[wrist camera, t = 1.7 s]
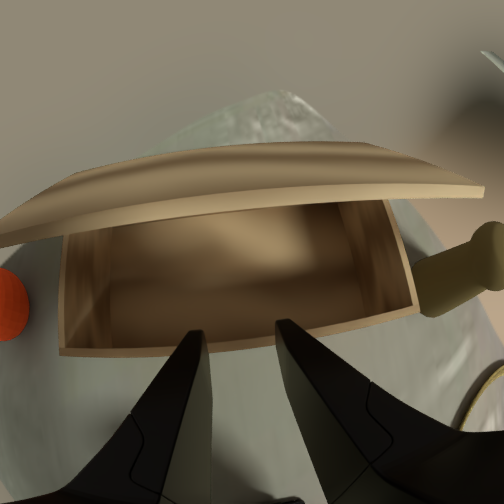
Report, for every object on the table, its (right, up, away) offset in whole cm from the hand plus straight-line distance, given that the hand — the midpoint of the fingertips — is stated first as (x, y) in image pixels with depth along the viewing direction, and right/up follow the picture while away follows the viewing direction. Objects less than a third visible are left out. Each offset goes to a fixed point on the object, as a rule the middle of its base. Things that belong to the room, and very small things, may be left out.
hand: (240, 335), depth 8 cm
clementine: (-24, -4, +12) cm, 27 cm away
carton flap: (-1, +6, +4) cm, 7 cm away
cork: (+18, -1, +15) cm, 24 cm away
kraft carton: (-1, 0, +15) cm, 15 cm away
